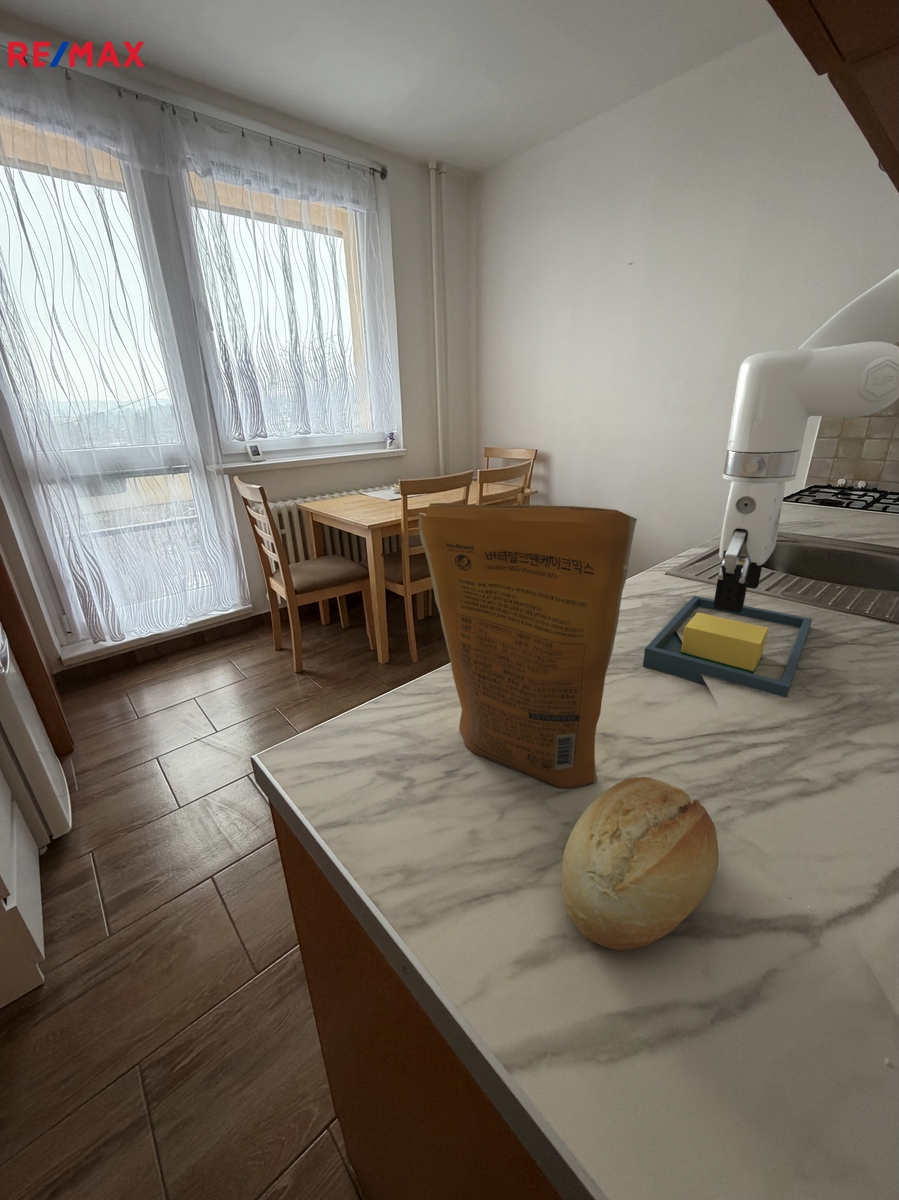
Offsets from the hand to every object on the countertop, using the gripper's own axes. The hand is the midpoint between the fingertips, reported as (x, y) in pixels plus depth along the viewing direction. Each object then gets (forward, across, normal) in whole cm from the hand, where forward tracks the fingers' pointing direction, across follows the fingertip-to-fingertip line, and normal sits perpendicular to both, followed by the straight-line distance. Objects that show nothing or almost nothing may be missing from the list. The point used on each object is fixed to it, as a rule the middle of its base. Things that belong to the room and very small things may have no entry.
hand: (736, 597), depth 64 cm
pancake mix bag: (+10, -34, +12) cm, 38 cm away
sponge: (+9, 0, +1) cm, 9 cm away
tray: (+10, +5, 0) cm, 12 cm away
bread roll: (+10, -40, -3) cm, 42 cm away
